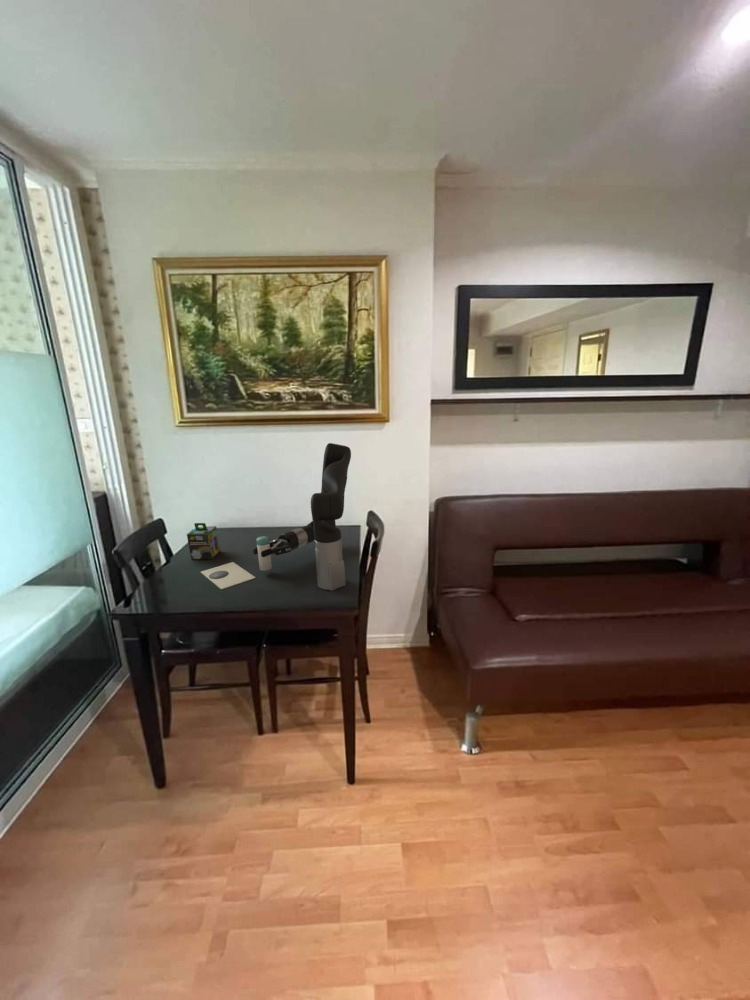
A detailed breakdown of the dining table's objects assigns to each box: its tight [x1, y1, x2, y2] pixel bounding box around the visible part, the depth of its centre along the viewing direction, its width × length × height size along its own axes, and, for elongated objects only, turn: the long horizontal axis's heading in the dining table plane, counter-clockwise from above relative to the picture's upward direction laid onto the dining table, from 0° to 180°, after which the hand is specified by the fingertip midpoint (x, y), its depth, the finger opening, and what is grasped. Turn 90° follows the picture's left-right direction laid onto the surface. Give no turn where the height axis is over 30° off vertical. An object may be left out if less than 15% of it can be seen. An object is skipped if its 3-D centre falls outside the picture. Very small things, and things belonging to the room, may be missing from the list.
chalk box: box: [186, 522, 221, 560], centre depth 183 cm, size 9×9×15 cm
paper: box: [200, 561, 256, 590], centre depth 165 cm, size 20×13×1 cm, turn 41°
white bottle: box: [256, 535, 273, 572], centre depth 163 cm, size 4×4×12 cm
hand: (257, 553), depth 161 cm, fingers closed on white bottle, 4 cm apart
